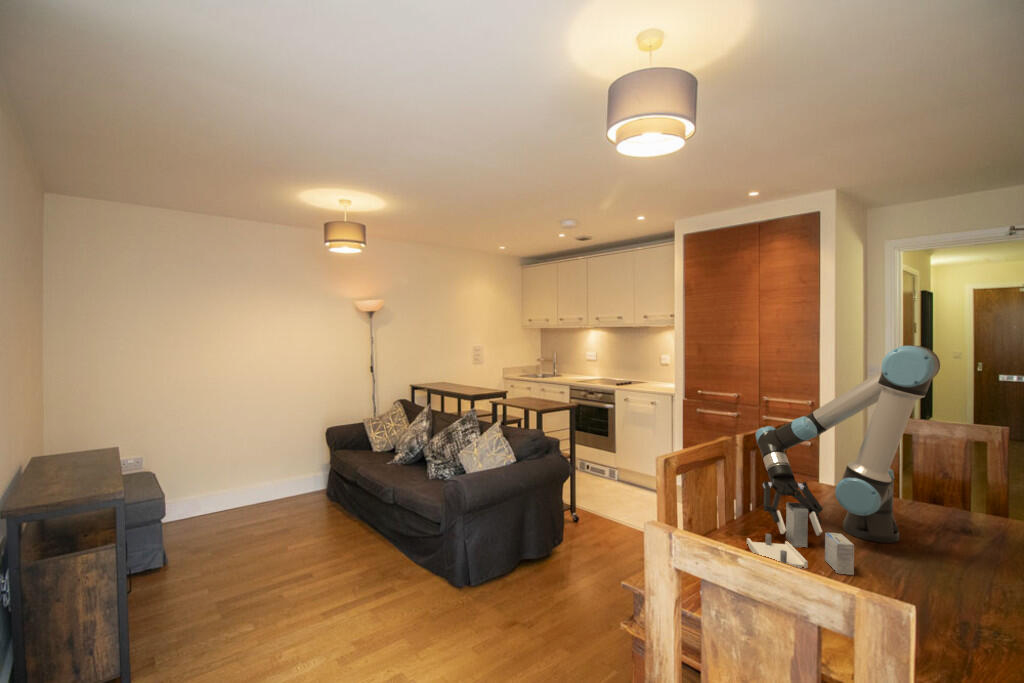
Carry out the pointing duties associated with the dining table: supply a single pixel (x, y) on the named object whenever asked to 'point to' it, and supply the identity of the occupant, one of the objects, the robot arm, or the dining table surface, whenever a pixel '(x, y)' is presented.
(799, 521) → the block
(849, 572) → the medicine box
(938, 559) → the dining table surface
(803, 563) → the tray
